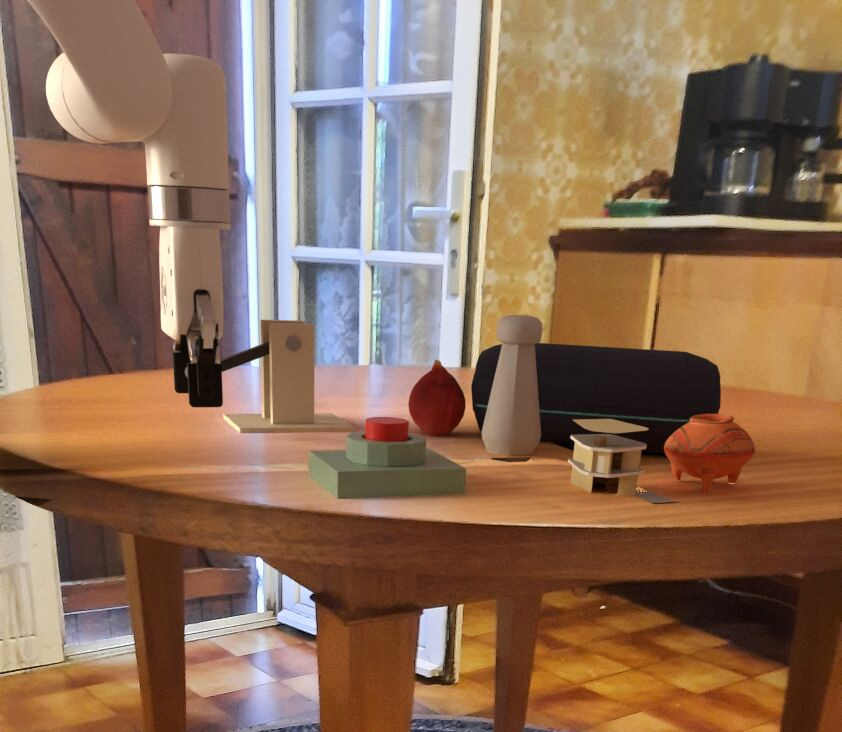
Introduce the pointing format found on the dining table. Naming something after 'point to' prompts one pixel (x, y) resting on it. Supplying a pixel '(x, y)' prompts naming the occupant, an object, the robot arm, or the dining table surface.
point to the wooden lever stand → (287, 384)
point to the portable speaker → (610, 390)
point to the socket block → (385, 469)
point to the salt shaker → (514, 391)
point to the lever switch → (243, 357)
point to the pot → (709, 449)
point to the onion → (437, 402)
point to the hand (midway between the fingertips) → (198, 399)
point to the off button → (386, 429)
